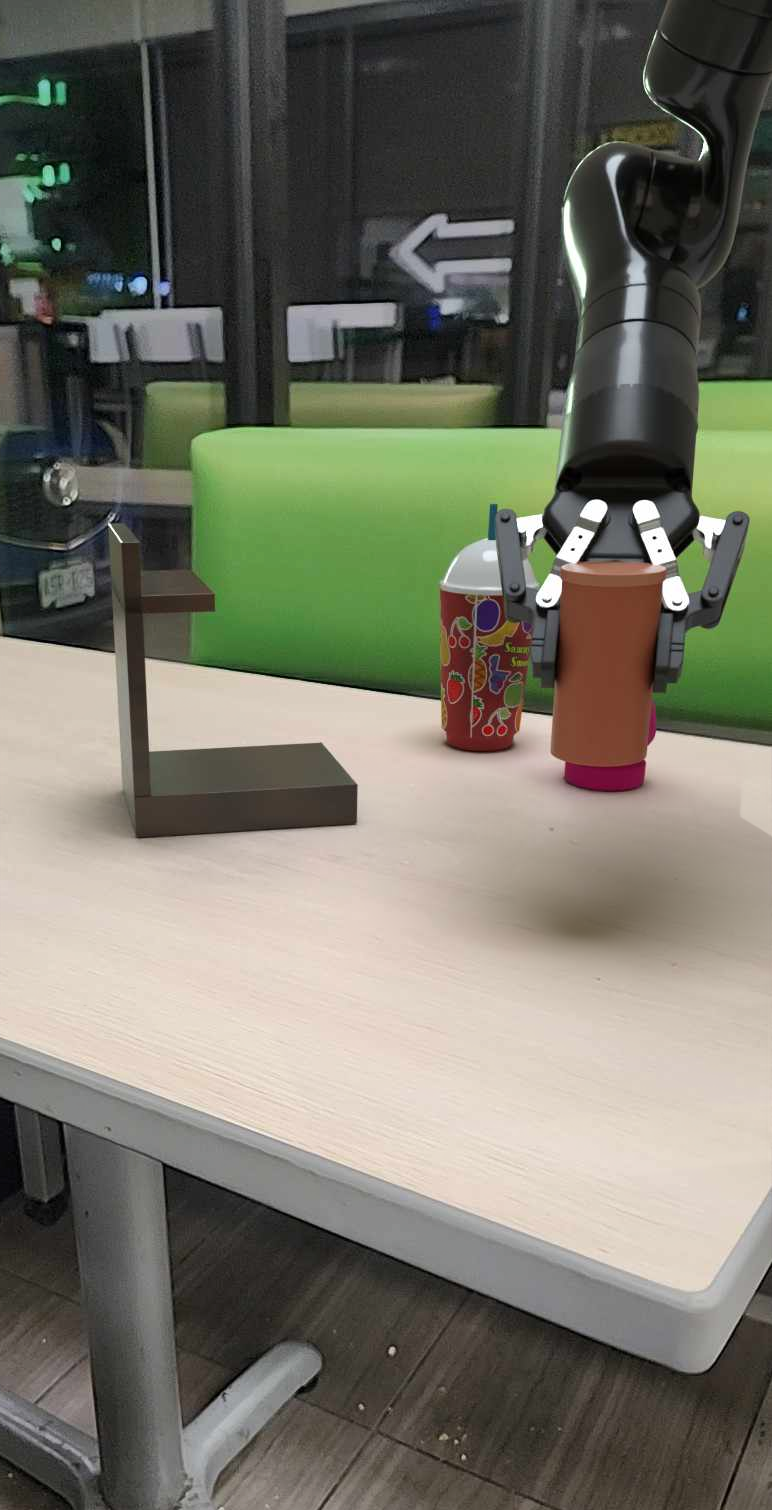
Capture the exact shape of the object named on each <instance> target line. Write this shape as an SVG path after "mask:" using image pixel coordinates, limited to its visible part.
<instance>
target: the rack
mask: <svg viewBox="0 0 772 1510" xmlns="http://www.w3.org/2000/svg"><path fill="white" fill-rule="evenodd" d="M107 527H108V547H109V564H110V565H109V566H110V581H111V583H110V584H111V599H112V618H113V637H114V639H113V641H114V655H115V656H114V657H115V671H116V672H115V674H116V675H115V677H116V693H117V711H118V728H119V729H118V731H119V747H120V749H119V750H120V767H121V785H122V793H123V796H124V799H125V802H126V807H127V809H128V813H129V816H130V820H131V824H132V827H133V831H134V834H135V837H136V838H138V839H139V838H155V837H168V836H185V835H200V834H216V833H231V832H232V833H233V832H247V831H263V830H264V831H265V830H278V829H281V830H282V829H294V828H309V827H310V828H311V827H312V828H313V827H325V826H326V827H327V826H342V825H356V824H357V823H358V793H359V792H358V788H359V786H358V785H359V784H358V783H357V782H356V780H355V779H354V778H353V777H352V776H351V775H350V773H349V772H348V771H347V770H346V769H345V768H344V766H342V765H341V763H340V762H339V761H338V760H337V758H336V757H335V756H334V755H333V754H332V753H331V751H329V749H328V748H327V747H326V746H325V744H324V743H323V742H308V743H307V742H306V743H305V742H304V743H303V742H302V743H286V744H285V743H284V744H267V745H247V746H232V747H231V746H229V747H228V746H227V747H210V748H191V749H171V750H153V751H151V750H150V741H149V739H150V737H149V717H148V694H147V693H148V692H147V674H146V673H147V672H146V670H147V669H146V649H145V632H144V631H145V629H144V628H145V627H144V615H159V614H160V615H161V614H163V615H164V614H187V613H191V614H192V613H214V612H216V594H215V593H214V591H213V590H212V589H211V588H210V587H209V586H208V585H207V584H206V583H205V582H204V581H203V580H202V579H201V578H200V577H199V575H198V574H197V573H196V572H195V571H194V570H193V569H164V570H163V569H162V570H142V565H141V564H142V563H141V543H140V541H139V539H138V538H137V537H136V535H134V533H133V532H132V531H131V529H130V528H129V527H128V526H127V525H126V523H125V522H109V523H108V524H107Z"/></svg>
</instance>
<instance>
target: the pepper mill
mask: <svg viewBox="0 0 772 1510" xmlns="http://www.w3.org/2000/svg"><path fill="white" fill-rule="evenodd" d="M656 733H657V713H656V707H655V703H654V700H653V699H652V704H651V715H650V725H649V735H648V746H650V744H651V743H652V742H653V741H654V739H655V737H656ZM646 767H647V762H646V759H644V760H642V761H640V762H637V763H634V764H629V765H622V766H588V765H580V764H574V763H569V762H566V761H564V772H563V777H564V779H565V781H566V782H567V783H569V784H570V785H573V786H575V787H579V788H583V789H587V790H592V791H601V792H603V791H604V792H620V791H629V790H633V789H637V788H639V787H641V786H642V785H643V784H644V782H645V776H646Z"/></svg>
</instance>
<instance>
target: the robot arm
mask: <svg viewBox="0 0 772 1510" xmlns="http://www.w3.org/2000/svg"><path fill="white" fill-rule="evenodd" d="M661 16H662V17H661V18H660V21H659V23H658V28H657V29H656V32H655V35H654V37H653V40H652V43H651V46H650V49H649V52H648V55H647V58H646V62H645V66H644V70H643V82H642V83H643V86H644V90H645V92H646V95H647V97H649V99H650V100H651V101H652V102H653V103H654V104H655V105H656V106H658V107H660V108H661V110H662V111H665V112H666V113H668V114H669V115H671V116H673V117H674V118H676V119H678V120H679V121H681V122H682V123H684V124H686V125H687V126H689V127H690V128H691V129H693V130H695V131H696V132H697V133H698V134H699V135H700V136H701V138H702V139H703V141H704V142H703V148H702V152H701V154H700V157H699V159H698V160H696V159H691V158H688V157H685V156H680V155H676V154H672V153H669V152H665V151H661V150H657V149H652V148H649V147H646V146H644V145H640V144H636V143H633V142H627V141H612V142H611V141H610V142H607V143H604V144H603V145H600V146H598V147H597V148H595V149H594V150H592V151H590V152H589V153H588V154H587V155H586V156H585V157H584V158H583V159H582V160H581V161H580V163H579V164H578V166H577V167H576V169H575V170H574V172H573V174H572V175H571V178H570V180H569V182H568V185H567V187H566V190H565V194H564V197H563V202H562V207H561V215H560V216H561V217H560V218H561V219H560V234H561V239H560V240H561V248H562V253H563V260H564V264H565V268H566V269H565V270H566V272H567V275H568V280H569V283H570V287H571V291H572V294H573V298H574V304H575V309H576V313H577V317H578V325H577V331H576V332H577V334H576V341H575V342H576V343H575V350H574V359H573V367H572V371H571V375H570V378H569V381H568V384H567V388H566V393H565V399H564V405H563V406H564V407H563V414H562V415H563V416H562V421H561V422H562V423H561V429H560V439H559V447H558V448H559V450H558V458H557V465H556V475H555V482H554V483H555V484H554V490H553V495H552V498H551V499H550V501H549V502H548V503H547V504H546V506H545V507H544V509H543V511H542V513H541V514H534V515H528V516H521V517H517V513H516V512H515V511H514V509H511V508H502V509H500V510H497V513H496V515H495V535H496V549H497V557H498V565H499V572H500V580H501V588H502V595H503V603H504V611H505V617H506V619H507V620H508V621H509V622H512V623H519V622H521V621H524V622H527V623H529V624H530V625H532V627H533V632H532V639H531V647H530V654H529V671H530V674H531V676H532V678H533V679H540V688H541V689H555V679H556V665H557V650H558V635H559V621H560V600H561V585H562V580H561V579H560V571H561V567H562V566H563V565H566V564H570V563H579V562H589V561H607V562H611V561H617V562H642V563H651V564H653V565H661V566H664V567H666V569H667V571H666V580H665V581H664V582H663V591H662V602H661V612H660V620H659V628H658V638H657V649H656V659H655V669H654V679H653V691H652V693H653V694H667V687H668V684H678V682H679V680H680V678H681V676H682V671H683V666H684V660H685V659H684V657H685V643H686V633H687V632H688V631H690V630H691V629H694V628H697V627H700V628H702V629H705V630H710V629H714V628H717V626H718V625H719V624H720V622H721V619H722V617H723V613H724V611H725V608H726V605H727V601H728V598H729V596H730V593H731V590H732V586H733V583H734V581H735V577H736V575H737V572H738V568H739V566H740V563H741V560H742V556H743V554H744V550H745V545H746V540H747V535H748V531H749V525H750V520H751V519H750V516H749V515H748V513H746V512H744V511H741V510H735V511H732V512H730V513H729V514H727V516H726V519H722V518H716V517H711V516H706V515H705V516H704V515H701V514H700V513H701V512H700V510H699V508H698V506H697V504H696V503H695V502H694V498H693V486H694V485H693V484H694V472H695V457H696V444H697V434H698V430H699V421H698V420H699V419H698V417H699V406H700V405H699V403H700V386H699V385H700V384H699V377H698V359H699V357H698V355H699V345H700V331H701V320H702V319H701V318H702V305H701V304H702V303H701V296H700V292H699V289H700V288H702V287H704V286H705V285H707V284H708V283H709V282H710V281H711V280H712V279H713V278H714V277H716V275H717V274H718V273H719V271H720V270H721V268H723V266H724V264H725V263H726V261H727V259H728V257H729V255H730V252H731V250H732V247H733V244H734V241H735V236H736V233H737V232H736V231H737V228H738V223H739V217H740V216H739V215H740V210H741V203H742V198H743V192H744V183H745V178H746V172H747V167H748V162H749V158H750V152H751V148H752V145H753V141H754V135H755V132H756V127H757V124H758V121H759V119H760V113H761V110H762V107H763V104H764V102H765V98H766V96H767V93H768V91H769V88H770V85H771V83H772V0H667V2H666V4H665V8H664V10H663V13H662V15H661ZM540 539H544V541H545V542H546V544H547V545H548V546H549V547H550V549H551V551H553V553H554V554H555V558H554V560H553V563H552V566H551V570H550V572H549V574H548V575H547V577H546V578H545V580H544V582H543V583H542V585H541V587H540V588H539V589H538V590H536V589H533V588H529V587H526V582H525V574H524V567H523V561H524V560H526V559H528V557H529V556H530V555H532V554H533V552H534V546H535V544H536V543H537V542H538V541H539V540H540ZM694 541H697V542H699V543H700V544H701V546H702V555H703V557H704V558H705V559H706V560H707V562H708V564H709V568H708V571H707V573H706V577H705V579H704V582H703V585H702V589H701V590H697V591H694V592H690V593H687V589H686V588H685V585H684V583H683V580H682V578H681V575H680V572H679V566H678V565H679V564H678V561H677V559H678V557H679V556H681V554H683V552H684V551H685V550H687V548H689V547H690V545H692V544H693V543H694Z"/></svg>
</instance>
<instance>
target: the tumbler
mask: <svg viewBox="0 0 772 1510" xmlns="http://www.w3.org/2000/svg"><path fill="white" fill-rule="evenodd" d="M666 571H667V569H666V567H664V566H661V565H653V564H651V563H642V562H617V561H611V562H607V561H589V562H579V563H570V564H566V565H563V566H562V567H561V571H560V579H561V580H562V585H561V600H560V621H559V635H558V650H557V665H556V679H555V687H554V692H553V693H554V694H553V705H552V707H553V708H552V721H551V736H550V750H549V751H550V754H551V756H553V757H554V758H555V759H557V760H559V761H563V762H565V761H566V762H569V763H574V764H580V765H588V766H622V765H629V764H634V763H637V762H640V761H642V760H646V758H647V755H648V746H649V745H648V735H649V725H650V715H651V704H652V700H653V694H654V693H652V691H653V679H654V669H655V659H656V649H657V638H658V628H659V620H660V612H661V602H662V591H663V582H664V581H665V580H666Z"/></svg>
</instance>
